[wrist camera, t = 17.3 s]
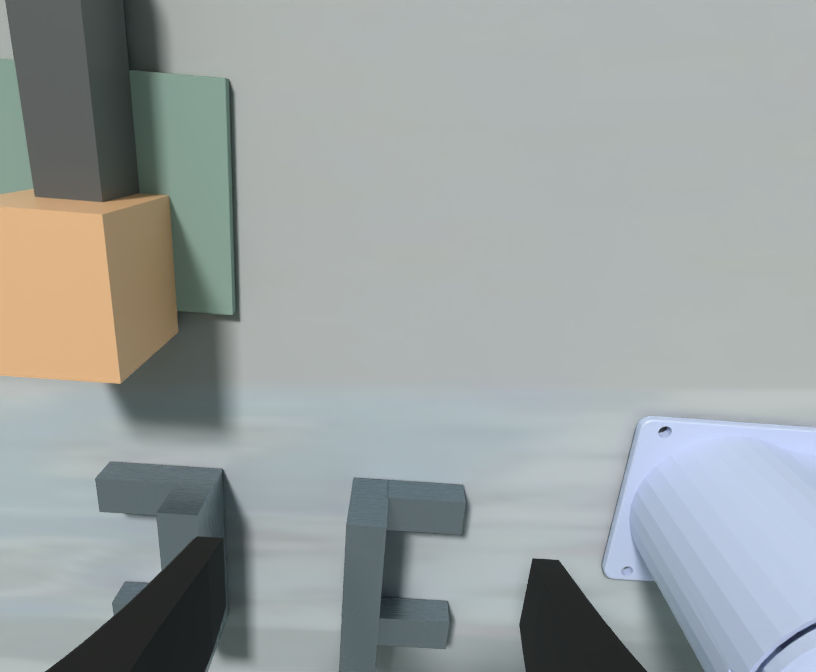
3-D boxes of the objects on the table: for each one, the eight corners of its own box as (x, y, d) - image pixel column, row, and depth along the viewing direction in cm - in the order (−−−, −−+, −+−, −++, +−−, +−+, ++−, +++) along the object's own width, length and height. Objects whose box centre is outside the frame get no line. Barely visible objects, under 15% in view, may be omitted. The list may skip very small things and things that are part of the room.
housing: (463, 484, 24) (470, 532, 21) (444, 627, 27) (448, 686, 24) (110, 461, 23) (69, 507, 21) (128, 608, 26) (94, 666, 23)
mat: (228, 79, 18) (224, 78, 18) (235, 311, 21) (232, 314, 21) (-21, 57, 18) (-30, 56, 18) (19, 295, 21) (12, 298, 20)
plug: (149, -84, 16) (61, -157, 12) (178, 332, 21) (120, 383, 17) (11, -97, 16) (-127, -175, 12) (69, 324, 21) (-16, 374, 17)
